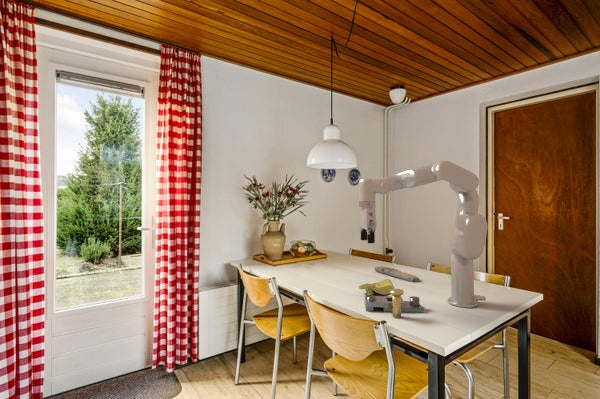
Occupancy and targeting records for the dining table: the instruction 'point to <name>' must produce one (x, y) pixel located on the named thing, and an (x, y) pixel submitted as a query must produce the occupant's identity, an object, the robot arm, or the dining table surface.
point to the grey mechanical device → (386, 304)
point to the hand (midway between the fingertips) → (367, 241)
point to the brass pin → (396, 302)
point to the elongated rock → (396, 274)
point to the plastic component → (378, 287)
